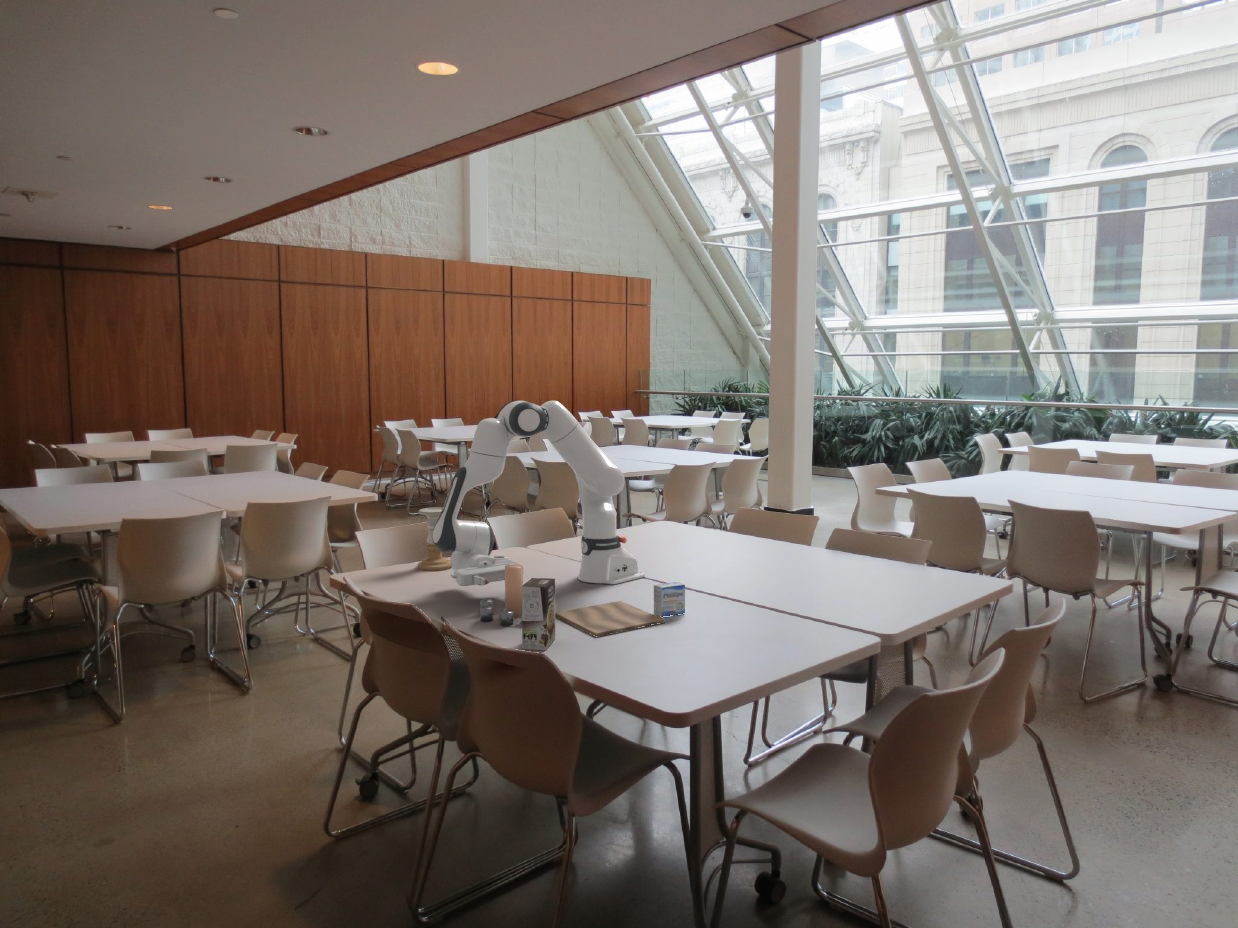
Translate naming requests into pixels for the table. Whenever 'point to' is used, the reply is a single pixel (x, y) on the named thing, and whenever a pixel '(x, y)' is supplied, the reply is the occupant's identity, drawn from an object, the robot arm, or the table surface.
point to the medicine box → (669, 599)
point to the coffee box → (538, 613)
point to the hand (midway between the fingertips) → (500, 579)
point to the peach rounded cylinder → (514, 589)
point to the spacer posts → (487, 613)
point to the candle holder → (435, 555)
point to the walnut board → (608, 618)
